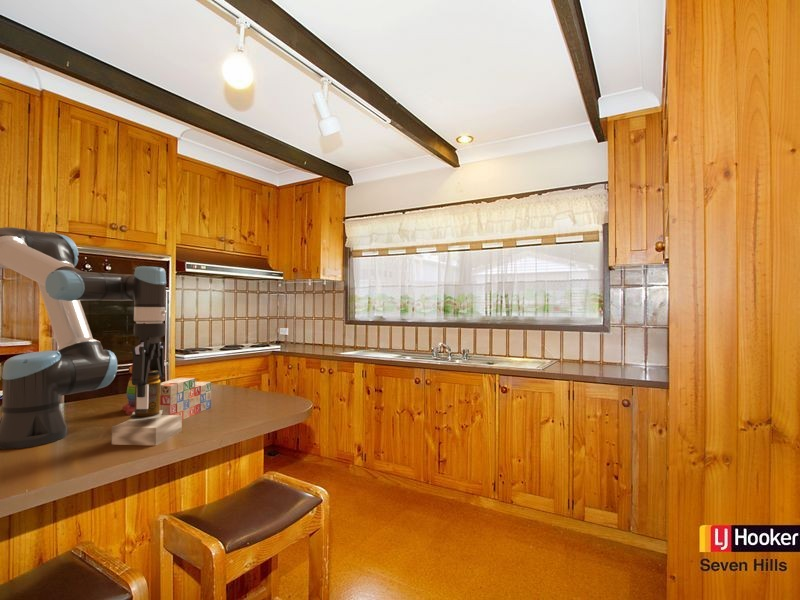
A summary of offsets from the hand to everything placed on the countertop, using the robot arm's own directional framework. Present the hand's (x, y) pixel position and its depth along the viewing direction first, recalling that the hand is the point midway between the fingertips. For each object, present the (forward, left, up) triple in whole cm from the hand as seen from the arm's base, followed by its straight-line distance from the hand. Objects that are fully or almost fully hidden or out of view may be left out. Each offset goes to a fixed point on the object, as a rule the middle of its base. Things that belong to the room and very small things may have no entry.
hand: (148, 405), depth 116 cm
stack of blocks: (0, +23, -9) cm, 25 cm away
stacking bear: (-17, +31, -9) cm, 36 cm away
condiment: (0, -1, -3) cm, 3 cm away
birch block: (0, 0, -9) cm, 9 cm away
